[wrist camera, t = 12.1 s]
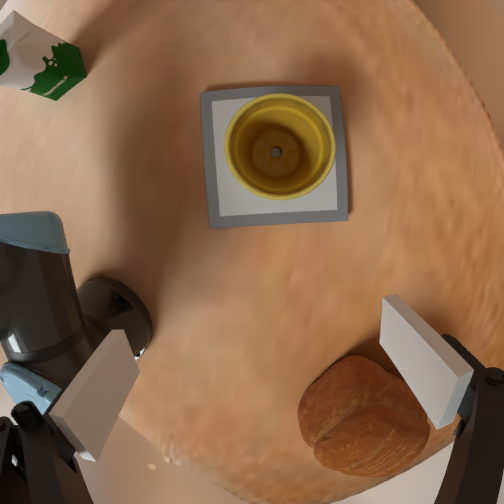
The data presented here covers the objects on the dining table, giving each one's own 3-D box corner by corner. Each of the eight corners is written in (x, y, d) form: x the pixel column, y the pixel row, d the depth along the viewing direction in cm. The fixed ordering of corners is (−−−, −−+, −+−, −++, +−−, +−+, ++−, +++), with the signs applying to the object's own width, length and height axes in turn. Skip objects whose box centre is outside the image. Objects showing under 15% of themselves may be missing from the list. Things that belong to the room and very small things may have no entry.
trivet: (211, 226, 38) (209, 228, 36) (202, 95, 33) (199, 92, 32) (344, 219, 37) (348, 220, 36) (336, 89, 32) (339, 86, 31)
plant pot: (246, 104, 32) (241, 79, 23) (325, 128, 32) (348, 112, 23) (223, 181, 35) (210, 184, 25) (303, 204, 35) (319, 215, 26)
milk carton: (53, 108, 33) (-36, 92, 14) (45, 71, 31) (-33, 46, 12) (92, 77, 32) (6, 39, 13) (82, 41, 30) (8, -2, 11)
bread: (353, 338, 42) (389, 411, 26) (419, 382, 45) (454, 438, 29) (285, 403, 46) (291, 479, 30) (359, 434, 49) (377, 493, 33)
